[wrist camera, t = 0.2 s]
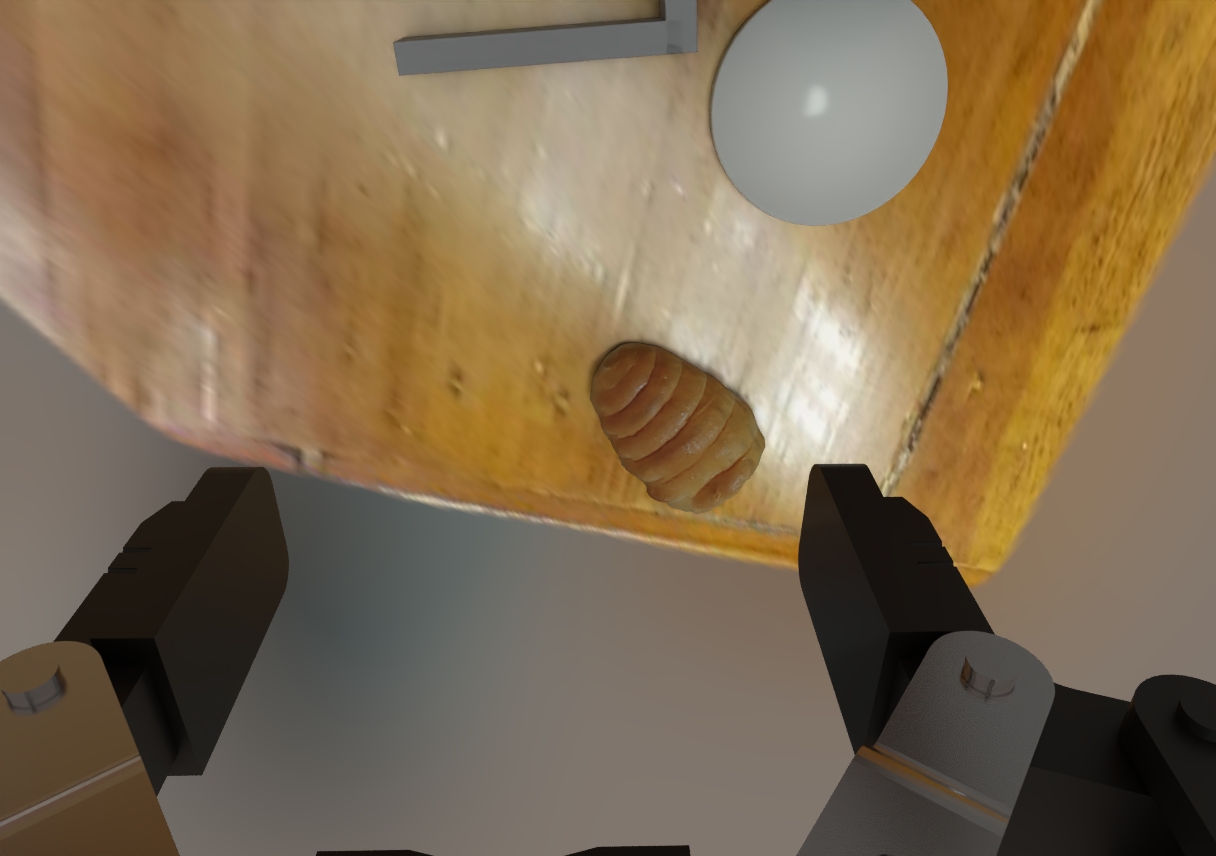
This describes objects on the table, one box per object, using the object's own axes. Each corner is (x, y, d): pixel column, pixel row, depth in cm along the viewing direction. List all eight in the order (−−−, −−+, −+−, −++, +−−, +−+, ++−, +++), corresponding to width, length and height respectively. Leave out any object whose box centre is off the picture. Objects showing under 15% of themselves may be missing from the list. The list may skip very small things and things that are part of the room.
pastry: (556, 392, 44) (556, 427, 41) (655, 305, 42) (664, 333, 39) (677, 503, 48) (686, 544, 44) (774, 427, 46) (791, 463, 42)
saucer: (707, -14, 36) (711, -13, 35) (951, -33, 36) (961, -33, 35) (711, 228, 40) (714, 234, 39) (926, 211, 40) (934, 216, 39)
